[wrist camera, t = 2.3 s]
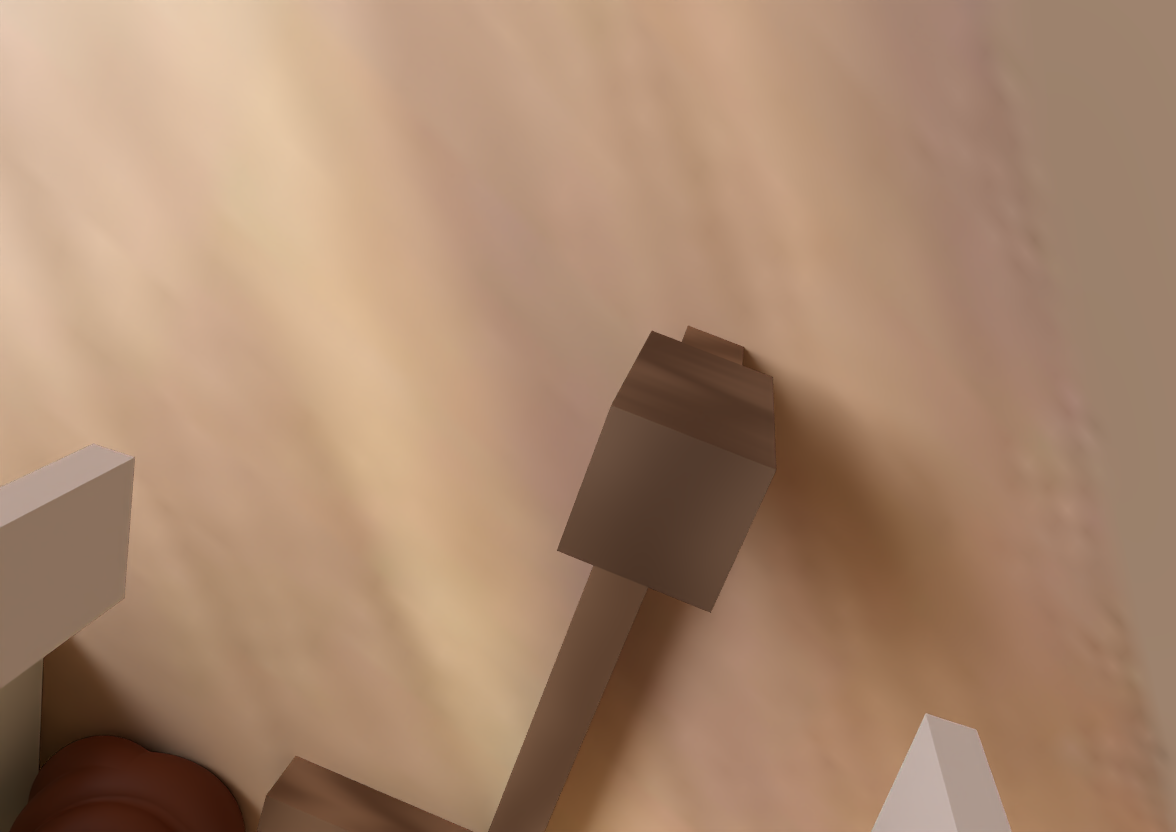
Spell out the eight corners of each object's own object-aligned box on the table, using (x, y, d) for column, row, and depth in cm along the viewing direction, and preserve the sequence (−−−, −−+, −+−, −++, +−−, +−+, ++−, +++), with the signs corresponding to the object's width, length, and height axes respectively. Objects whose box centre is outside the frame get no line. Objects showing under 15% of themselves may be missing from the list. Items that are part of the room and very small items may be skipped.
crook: (286, 789, 40) (130, 1006, 30) (442, 231, 31) (293, 280, 21) (536, 897, 39) (460, 1156, 29) (771, 357, 30) (776, 470, 20)
